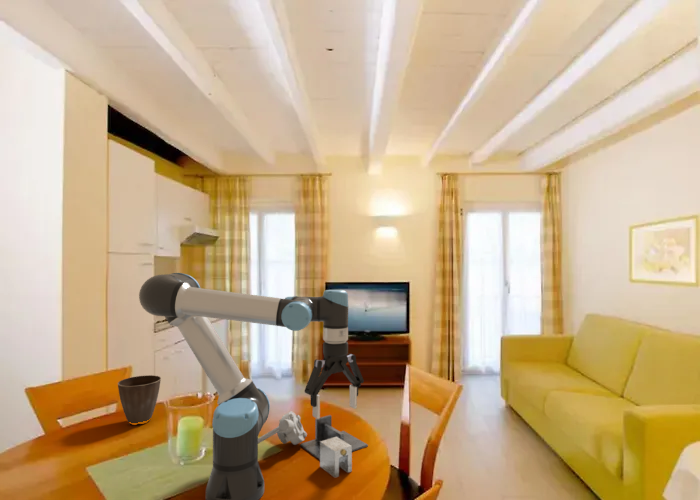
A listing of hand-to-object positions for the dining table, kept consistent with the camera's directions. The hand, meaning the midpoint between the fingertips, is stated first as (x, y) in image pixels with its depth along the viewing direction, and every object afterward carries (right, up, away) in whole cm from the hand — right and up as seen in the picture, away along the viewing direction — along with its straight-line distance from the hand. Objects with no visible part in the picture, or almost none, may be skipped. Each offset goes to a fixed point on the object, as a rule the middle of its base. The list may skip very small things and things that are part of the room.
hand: (335, 412), depth 125 cm
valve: (-20, -17, +13) cm, 29 cm away
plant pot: (-77, -18, +35) cm, 87 cm away
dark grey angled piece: (-1, -17, +14) cm, 22 cm away
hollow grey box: (0, -17, -1) cm, 17 cm away
